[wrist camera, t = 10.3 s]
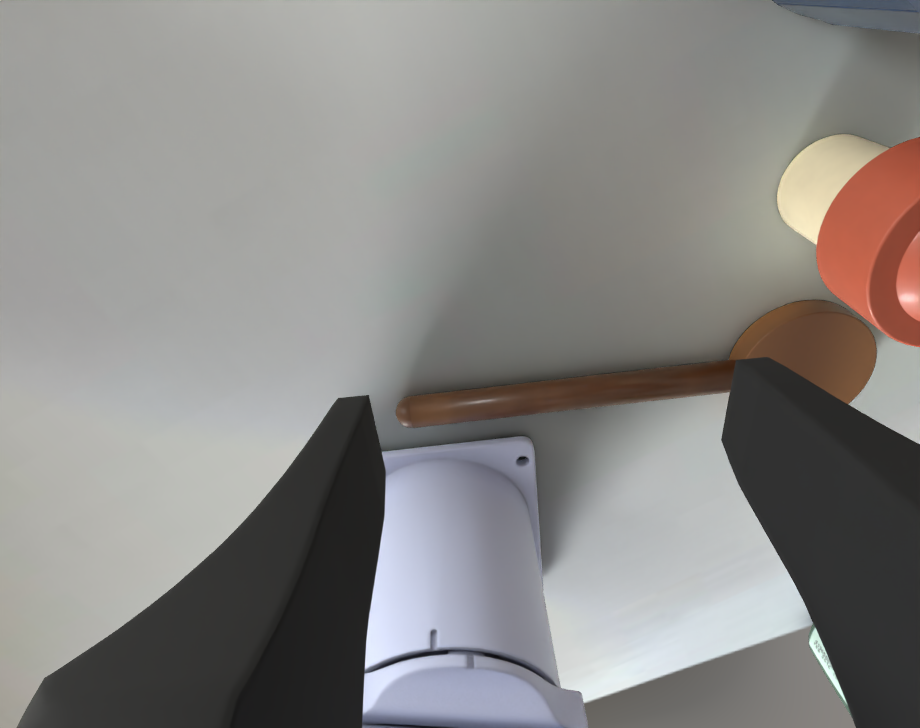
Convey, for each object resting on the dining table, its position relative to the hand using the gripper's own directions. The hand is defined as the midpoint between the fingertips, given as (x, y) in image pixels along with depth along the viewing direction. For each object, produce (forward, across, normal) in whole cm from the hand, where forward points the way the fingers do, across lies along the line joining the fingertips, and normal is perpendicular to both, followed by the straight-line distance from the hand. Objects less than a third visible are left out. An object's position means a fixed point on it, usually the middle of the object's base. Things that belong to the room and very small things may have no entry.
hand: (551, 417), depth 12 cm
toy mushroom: (+10, -10, 0) cm, 14 cm away
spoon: (+10, -4, +6) cm, 12 cm away
